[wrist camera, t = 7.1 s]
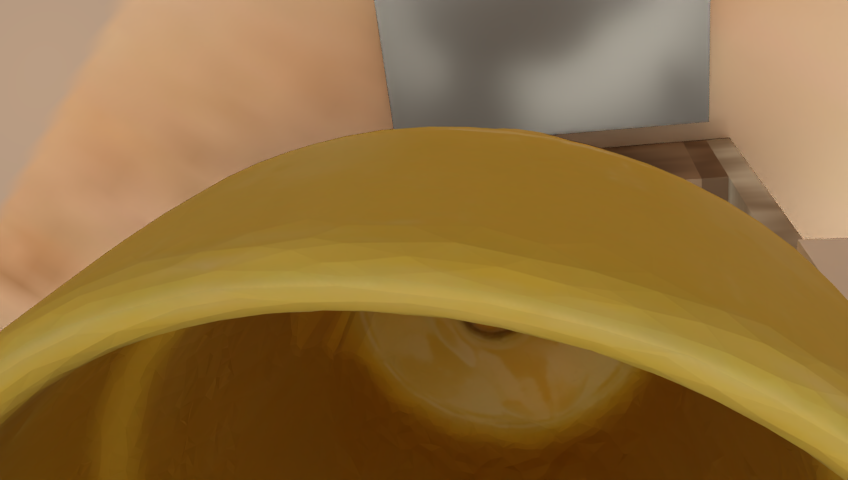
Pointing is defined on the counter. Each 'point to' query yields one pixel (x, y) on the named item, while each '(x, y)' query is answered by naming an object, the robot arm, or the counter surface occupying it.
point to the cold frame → (717, 177)
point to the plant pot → (435, 328)
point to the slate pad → (546, 63)
